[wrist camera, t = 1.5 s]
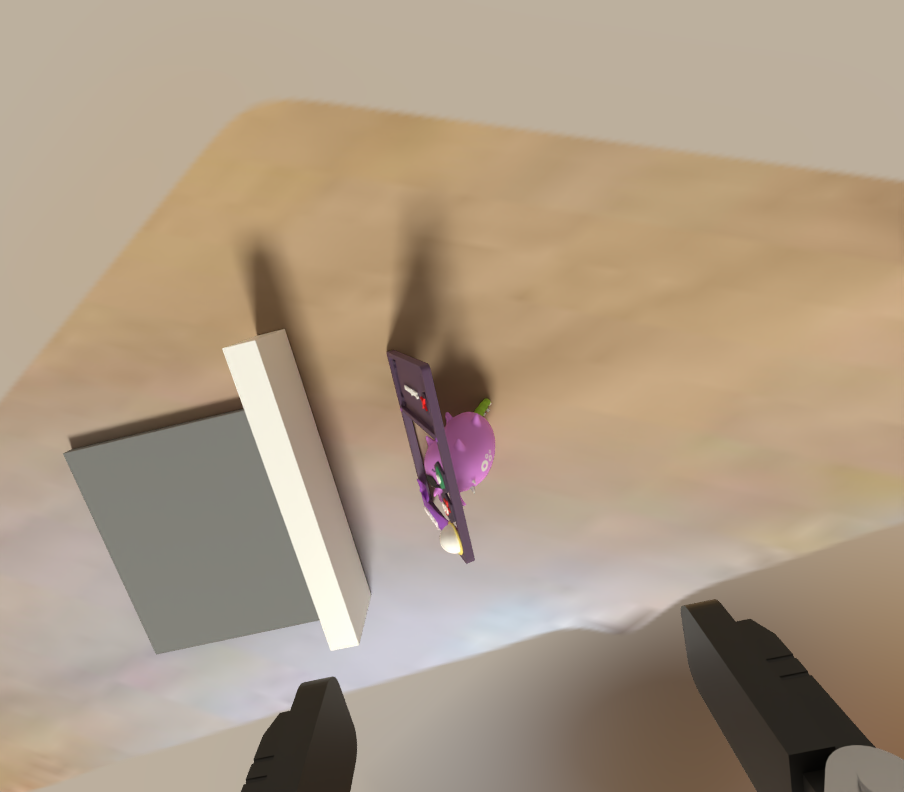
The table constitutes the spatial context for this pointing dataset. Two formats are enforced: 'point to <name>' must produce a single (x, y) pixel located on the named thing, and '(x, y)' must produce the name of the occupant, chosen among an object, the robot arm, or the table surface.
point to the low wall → (302, 482)
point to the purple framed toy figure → (443, 449)
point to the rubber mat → (195, 531)
